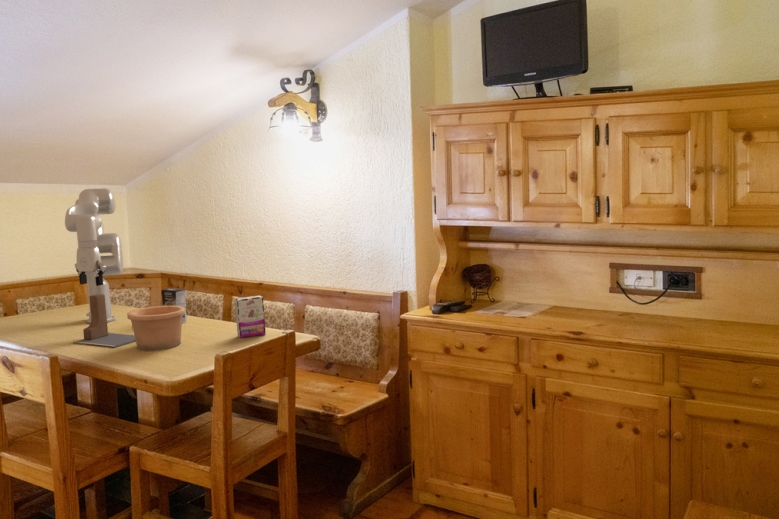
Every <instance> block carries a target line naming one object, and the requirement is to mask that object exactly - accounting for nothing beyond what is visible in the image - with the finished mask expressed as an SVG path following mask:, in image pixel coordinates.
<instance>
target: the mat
mask: <svg viewBox="0 0 779 519" xmlns="http://www.w3.org/2000/svg"><path fill="white" fill-rule="evenodd" d="M72 343H73V344H74V343H78V344H77V345H83V344H85V345H86V346H91V347H92V346H94V347H100V348H101V347H102V348H111V349H115V348H116V349H117V348H119V347H122V346H125V345H129V344H133V343H136V339H135V335H134V334H129V333H121V332H111V331H108V335H107V336H104V337H100V338H97V339H93V340H86V339H84V338H83V339H80V340H75V341H73V342H72Z"/></svg>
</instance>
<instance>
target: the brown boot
mask: <svg viewBox="0 0 779 519" xmlns="http://www.w3.org/2000/svg"><path fill="white" fill-rule="evenodd" d="M89 299H90V308H89V311H90V310H91V323H89V325H88V326H87V327H85V328H83V329H82V331H83V332H82V333H83V339H86V340H93V339H97V338H100V337H104V336H107V335H108V332H109V329H108V328H109V326H108V322H107V316H106V305H105V295H102V294H96V295H91V296H89V297H88V300H89Z"/></svg>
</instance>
